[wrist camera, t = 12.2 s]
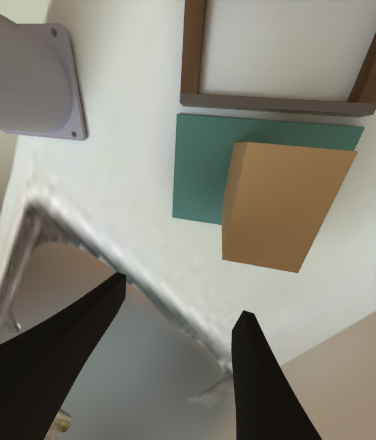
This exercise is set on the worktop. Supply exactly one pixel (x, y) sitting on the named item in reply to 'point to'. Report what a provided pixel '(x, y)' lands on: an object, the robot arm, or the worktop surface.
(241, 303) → the worktop surface
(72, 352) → the robot arm
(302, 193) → the block
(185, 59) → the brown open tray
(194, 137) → the mat
